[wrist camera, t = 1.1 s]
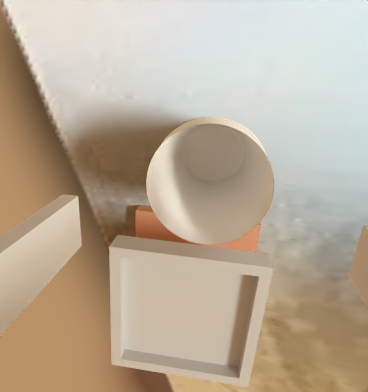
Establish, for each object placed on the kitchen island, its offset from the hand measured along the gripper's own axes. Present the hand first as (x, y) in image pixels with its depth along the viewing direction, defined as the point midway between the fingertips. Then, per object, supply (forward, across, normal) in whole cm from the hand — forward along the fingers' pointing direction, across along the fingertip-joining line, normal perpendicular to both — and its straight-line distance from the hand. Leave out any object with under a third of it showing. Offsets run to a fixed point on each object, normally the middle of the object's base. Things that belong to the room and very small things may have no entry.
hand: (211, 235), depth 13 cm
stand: (+18, -2, -14) cm, 23 cm away
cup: (+19, 0, 0) cm, 19 cm away
